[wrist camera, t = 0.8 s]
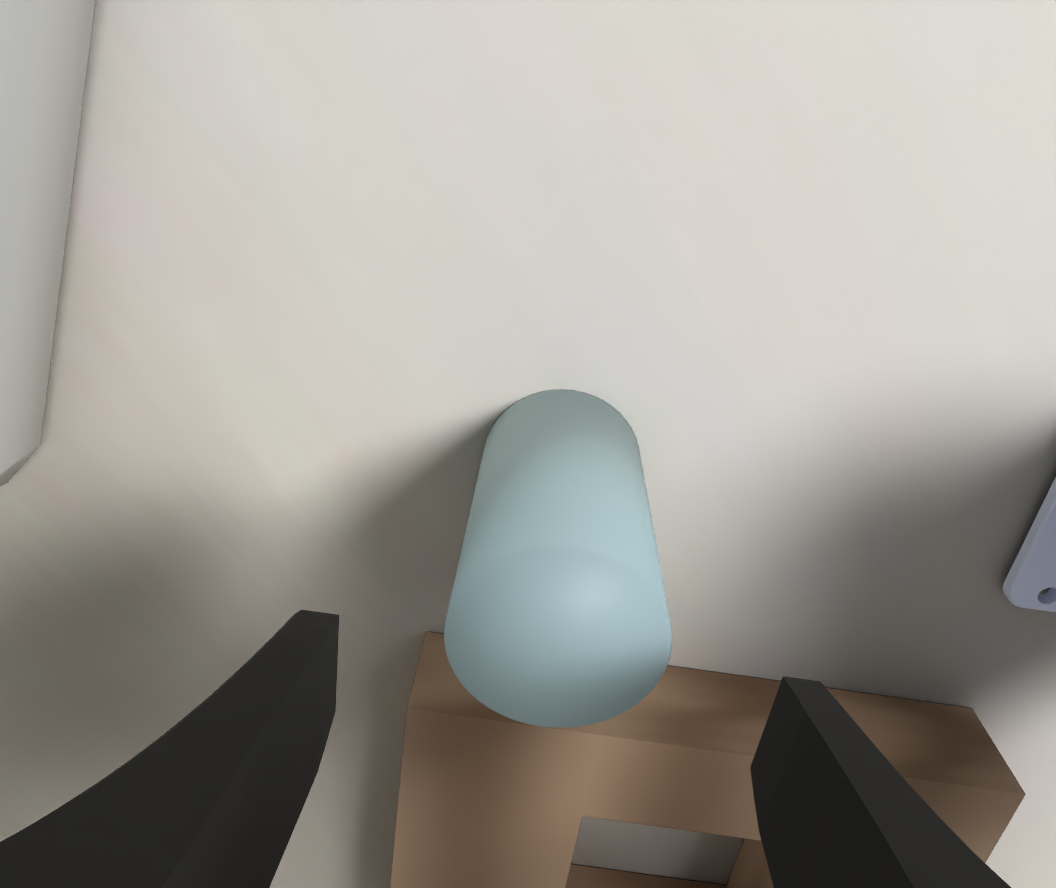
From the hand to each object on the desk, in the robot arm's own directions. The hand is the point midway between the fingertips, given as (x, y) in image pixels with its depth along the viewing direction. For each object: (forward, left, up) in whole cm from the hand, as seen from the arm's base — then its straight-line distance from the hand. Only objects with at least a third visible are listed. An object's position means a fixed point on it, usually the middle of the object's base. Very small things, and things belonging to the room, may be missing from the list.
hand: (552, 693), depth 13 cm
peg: (0, 0, -8) cm, 8 cm away
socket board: (-5, +12, -8) cm, 15 cm away
